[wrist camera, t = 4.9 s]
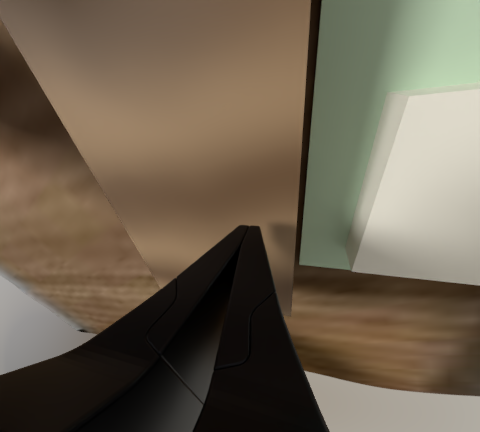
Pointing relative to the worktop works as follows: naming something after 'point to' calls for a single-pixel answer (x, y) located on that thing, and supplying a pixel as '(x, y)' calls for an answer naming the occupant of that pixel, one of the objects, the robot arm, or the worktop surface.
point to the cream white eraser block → (422, 189)
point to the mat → (372, 97)
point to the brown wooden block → (180, 115)
